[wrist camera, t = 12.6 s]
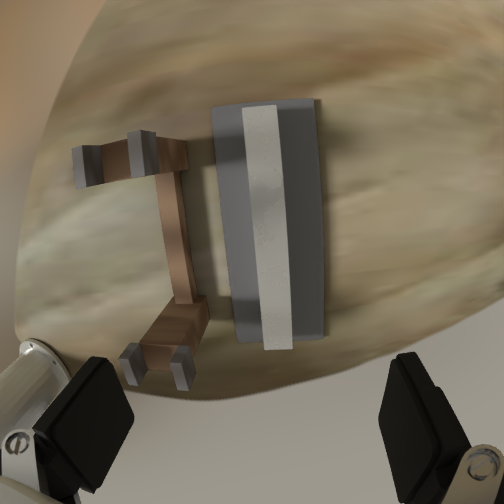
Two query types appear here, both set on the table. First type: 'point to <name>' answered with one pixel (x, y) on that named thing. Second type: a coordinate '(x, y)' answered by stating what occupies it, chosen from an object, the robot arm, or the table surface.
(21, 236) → the table surface
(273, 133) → the rail
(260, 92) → the table surface
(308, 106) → the mat
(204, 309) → the rack
